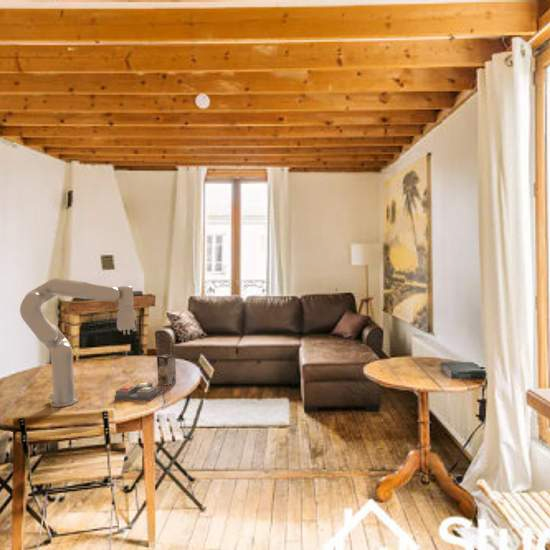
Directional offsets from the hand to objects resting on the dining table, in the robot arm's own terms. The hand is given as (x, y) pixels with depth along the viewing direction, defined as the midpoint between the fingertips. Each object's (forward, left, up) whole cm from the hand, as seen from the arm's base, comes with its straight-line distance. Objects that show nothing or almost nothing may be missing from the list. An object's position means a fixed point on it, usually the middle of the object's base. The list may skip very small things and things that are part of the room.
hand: (128, 341), depth 218 cm
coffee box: (+15, +13, -27) cm, 34 cm away
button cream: (+10, -4, -24) cm, 26 cm away
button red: (+4, -11, -24) cm, 27 cm away
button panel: (+10, -8, -27) cm, 30 cm away
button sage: (+16, -11, -24) cm, 31 cm away
